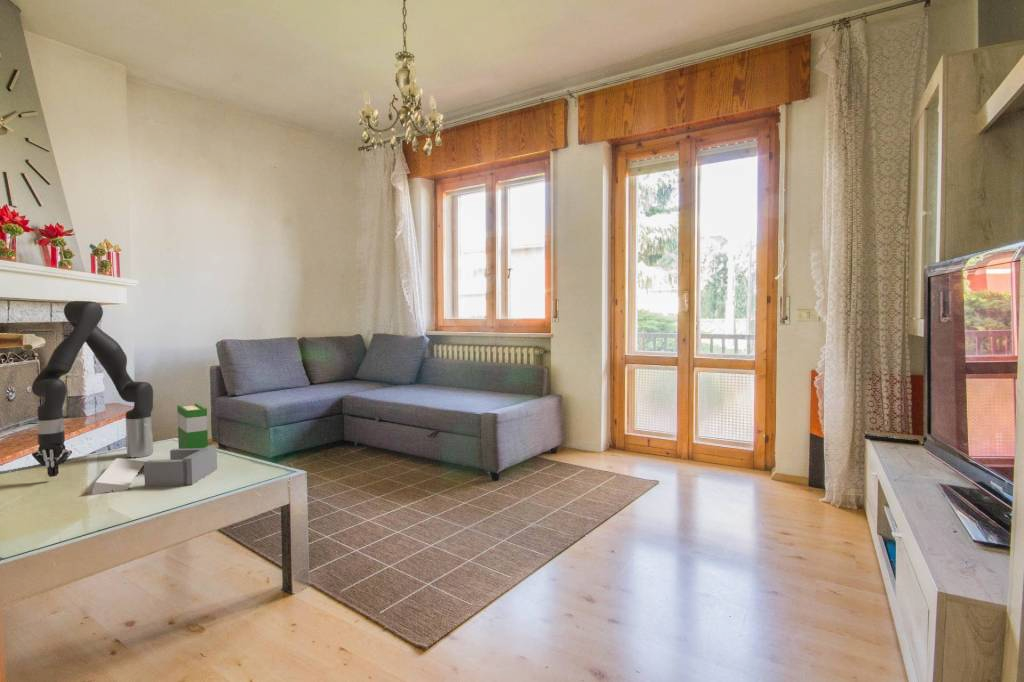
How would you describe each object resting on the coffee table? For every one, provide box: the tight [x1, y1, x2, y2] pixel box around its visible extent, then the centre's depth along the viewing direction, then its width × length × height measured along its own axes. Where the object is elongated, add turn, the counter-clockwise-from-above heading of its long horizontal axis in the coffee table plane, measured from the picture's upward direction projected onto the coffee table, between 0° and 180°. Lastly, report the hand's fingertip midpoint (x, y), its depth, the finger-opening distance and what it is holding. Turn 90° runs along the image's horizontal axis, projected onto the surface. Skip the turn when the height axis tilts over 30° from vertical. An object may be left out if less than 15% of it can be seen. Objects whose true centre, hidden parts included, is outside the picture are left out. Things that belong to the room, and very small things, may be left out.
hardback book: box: [176, 403, 209, 449], centre depth 215 cm, size 18×7×24 cm, turn 43°
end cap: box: [143, 444, 218, 487], centre depth 195 cm, size 19×16×10 cm
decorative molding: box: [91, 457, 146, 496], centre depth 194 cm, size 34×5×10 cm
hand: (53, 476), depth 191 cm, fingers closed
